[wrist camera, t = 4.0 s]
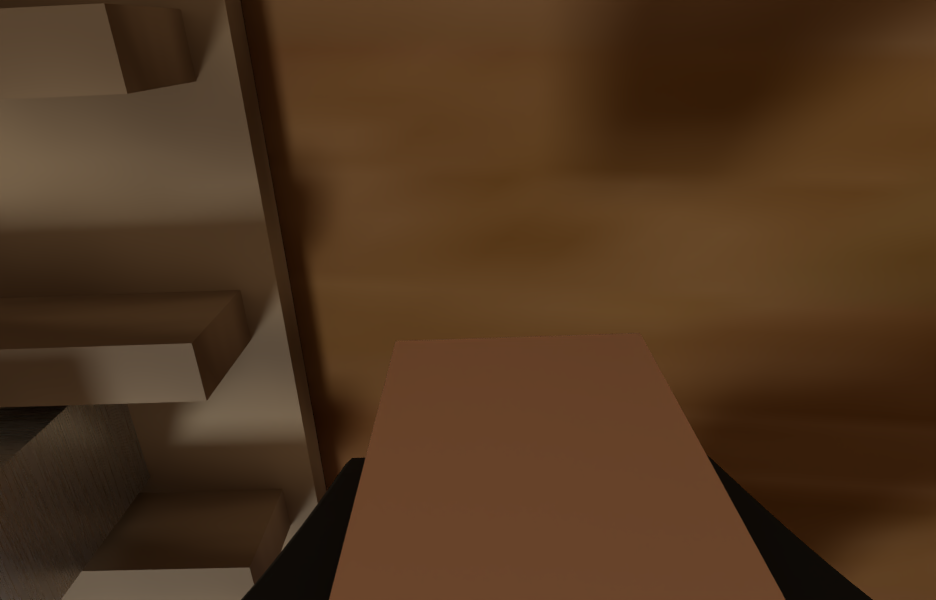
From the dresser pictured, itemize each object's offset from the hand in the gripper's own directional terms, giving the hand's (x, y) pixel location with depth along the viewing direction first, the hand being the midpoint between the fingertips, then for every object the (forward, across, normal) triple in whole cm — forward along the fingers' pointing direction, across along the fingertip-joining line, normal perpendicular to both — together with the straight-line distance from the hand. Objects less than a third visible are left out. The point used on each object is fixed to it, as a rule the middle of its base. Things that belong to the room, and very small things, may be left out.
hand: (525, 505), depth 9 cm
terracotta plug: (+2, 0, 0) cm, 2 cm away
